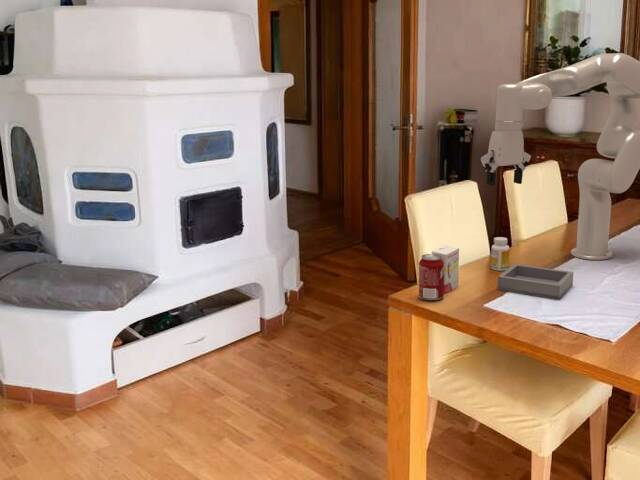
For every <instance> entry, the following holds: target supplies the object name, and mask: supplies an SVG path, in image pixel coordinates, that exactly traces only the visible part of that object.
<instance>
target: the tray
mask: <svg viewBox="0 0 640 480" xmlns="http://www.w3.org/2000/svg"><path fill="white" fill-rule="evenodd" d="M573 282H574V271H570V270H569V271H567V270H562V269H554V268H548V267H540V266H532V265H525V264H517V263H514V264H512V265H511V266H509V268H508V269H507V270H504V271H503V272H502V273H501V274H499V275H498V277H497V290H498V291H501V292H507V293H513V294H521V295H525V296H526V295H527V296H532V297H537V298H544V299H551V300H558V301H560V300H561V299H562V298H563V297H564V295H565V294H566V293H568V291H569V290H570V289H571V287H573V285H574V283H573Z"/></svg>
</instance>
